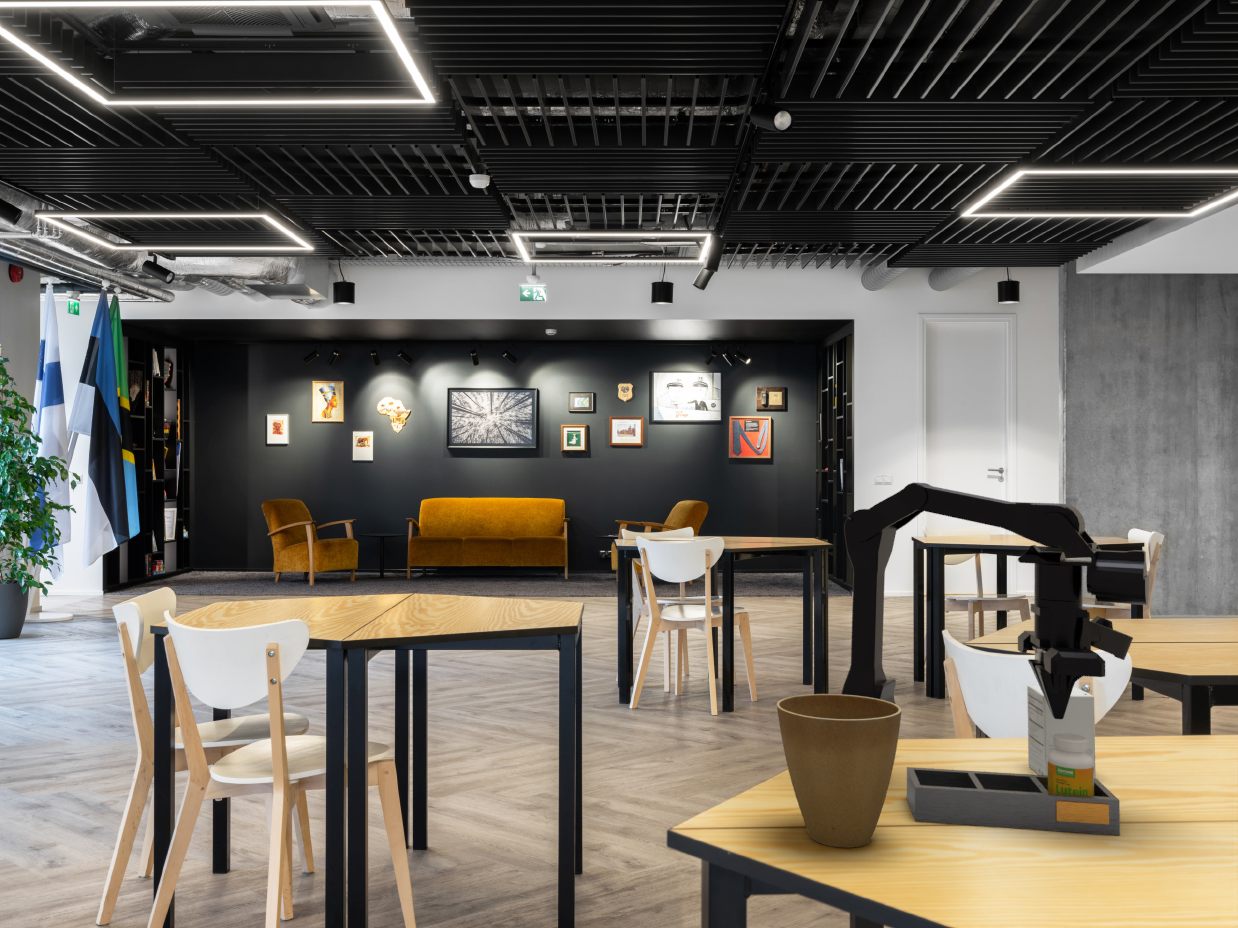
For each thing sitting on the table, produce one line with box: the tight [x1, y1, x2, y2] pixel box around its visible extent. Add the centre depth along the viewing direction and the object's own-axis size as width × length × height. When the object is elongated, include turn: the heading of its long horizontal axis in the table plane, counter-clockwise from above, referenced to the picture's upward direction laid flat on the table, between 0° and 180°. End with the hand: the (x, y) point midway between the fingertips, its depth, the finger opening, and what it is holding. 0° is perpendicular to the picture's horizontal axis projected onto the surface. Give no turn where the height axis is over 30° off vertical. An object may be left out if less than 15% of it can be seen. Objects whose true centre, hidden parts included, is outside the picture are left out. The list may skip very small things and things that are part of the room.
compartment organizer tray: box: [906, 766, 1121, 836], centre depth 120 cm, size 24×9×4 cm, turn 79°
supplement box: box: [1026, 685, 1097, 779], centre depth 139 cm, size 7×7×13 cm
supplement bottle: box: [1048, 733, 1094, 796], centre depth 119 cm, size 5×5×10 cm
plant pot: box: [776, 693, 902, 849], centre depth 113 cm, size 15×15×16 cm
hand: (1058, 718), depth 120 cm, fingers closed
